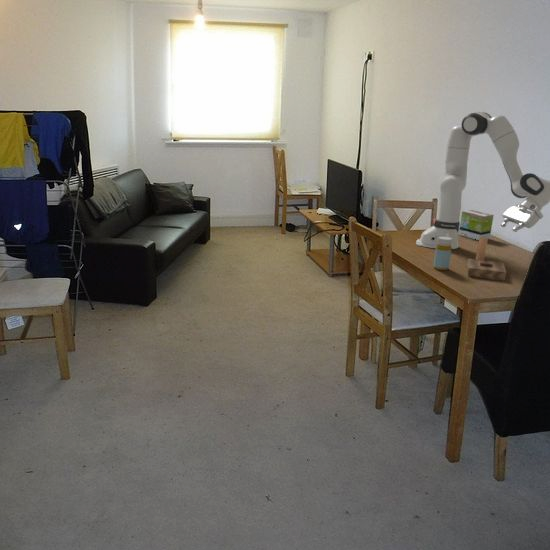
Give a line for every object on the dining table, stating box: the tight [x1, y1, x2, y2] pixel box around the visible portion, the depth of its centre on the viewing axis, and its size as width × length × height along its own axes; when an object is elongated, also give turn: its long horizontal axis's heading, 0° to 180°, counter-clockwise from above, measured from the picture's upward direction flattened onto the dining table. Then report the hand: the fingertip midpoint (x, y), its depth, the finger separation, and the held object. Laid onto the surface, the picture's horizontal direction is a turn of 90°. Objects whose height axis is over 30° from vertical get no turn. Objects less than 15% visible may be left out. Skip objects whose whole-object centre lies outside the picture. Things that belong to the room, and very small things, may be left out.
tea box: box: [458, 209, 494, 241], centre depth 326 cm, size 15×10×15 cm
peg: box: [475, 237, 489, 261], centre depth 274 cm, size 4×4×13 cm
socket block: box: [466, 258, 507, 281], centre depth 261 cm, size 16×16×4 cm
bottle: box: [432, 236, 452, 271], centre depth 263 cm, size 7×7×15 cm
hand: (507, 228), depth 274 cm, fingers open, 8 cm apart
